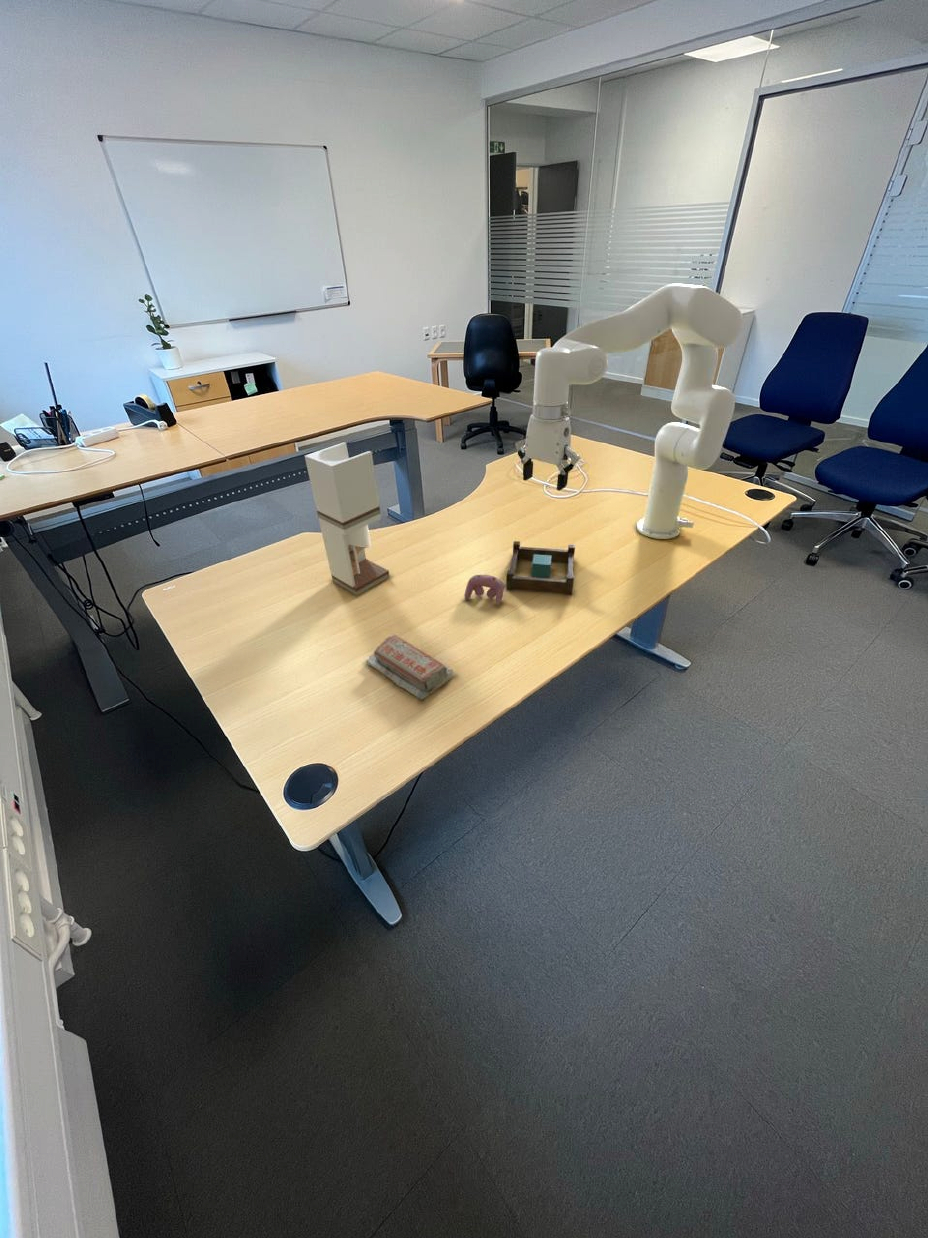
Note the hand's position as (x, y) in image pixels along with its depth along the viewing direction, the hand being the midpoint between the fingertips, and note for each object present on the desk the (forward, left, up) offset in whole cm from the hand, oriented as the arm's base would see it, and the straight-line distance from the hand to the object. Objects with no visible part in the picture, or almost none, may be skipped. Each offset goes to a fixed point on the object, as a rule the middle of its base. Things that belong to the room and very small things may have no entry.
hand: (544, 483), depth 126 cm
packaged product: (+25, +42, -26) cm, 56 cm away
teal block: (-1, 0, -26) cm, 26 cm away
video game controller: (+13, +13, -26) cm, 32 cm away
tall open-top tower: (+48, +9, -26) cm, 55 cm away
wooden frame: (-1, 0, -26) cm, 26 cm away
